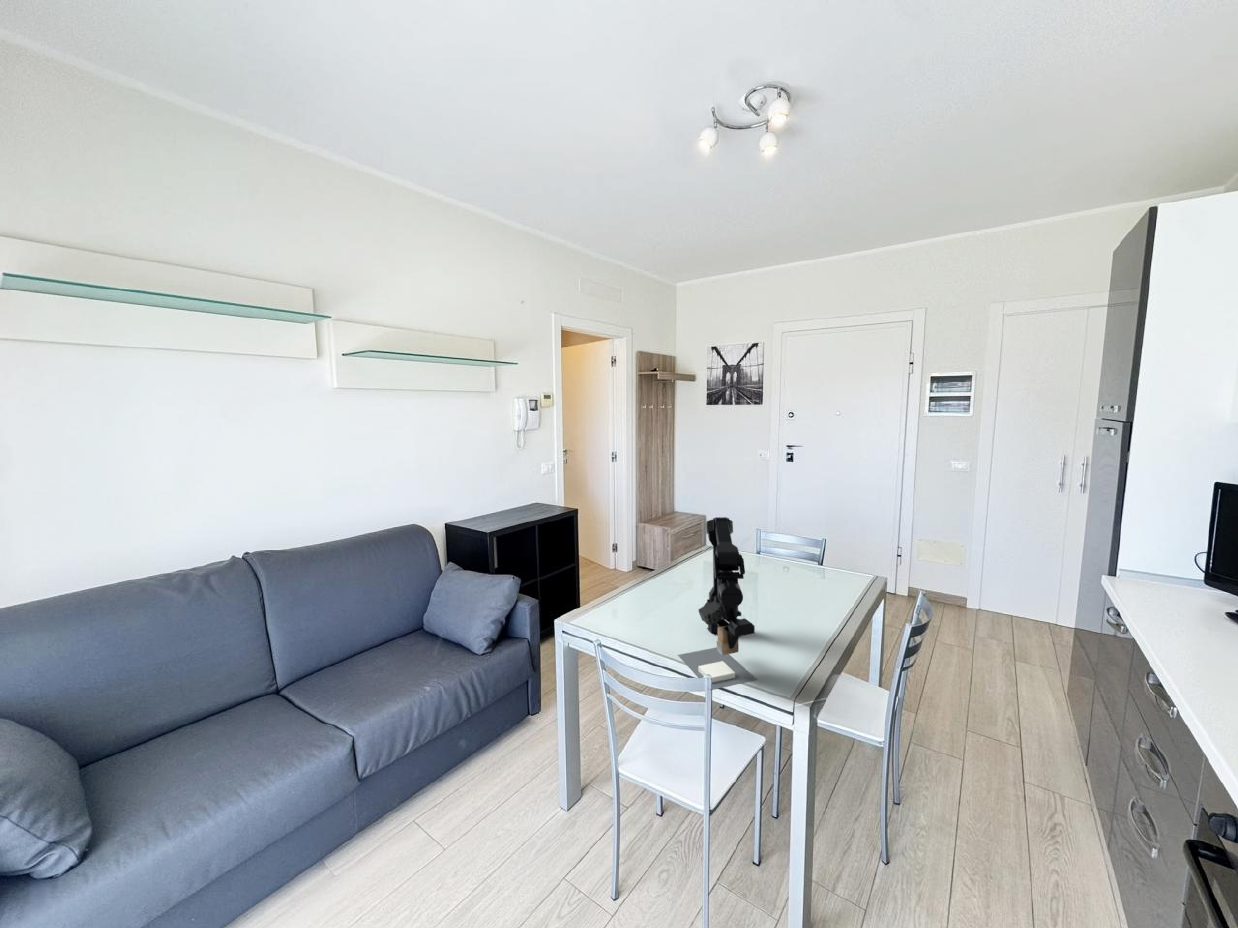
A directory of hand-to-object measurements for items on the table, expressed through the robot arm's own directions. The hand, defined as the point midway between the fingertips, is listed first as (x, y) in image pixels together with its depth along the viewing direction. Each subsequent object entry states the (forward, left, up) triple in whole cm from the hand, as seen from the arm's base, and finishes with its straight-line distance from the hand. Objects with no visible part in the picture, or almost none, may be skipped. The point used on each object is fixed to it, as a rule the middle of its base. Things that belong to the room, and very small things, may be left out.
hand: (728, 645), depth 143 cm
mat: (+2, -4, -8) cm, 9 cm away
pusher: (0, 0, -2) cm, 2 cm away
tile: (0, 0, -7) cm, 7 cm away
